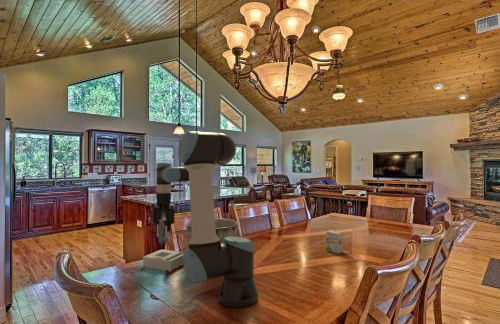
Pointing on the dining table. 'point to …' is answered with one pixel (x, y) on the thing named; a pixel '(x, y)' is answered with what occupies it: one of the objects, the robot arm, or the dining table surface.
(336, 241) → the ink box
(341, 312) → the dining table surface
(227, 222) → the planter
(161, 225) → the metal cylinder
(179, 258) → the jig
